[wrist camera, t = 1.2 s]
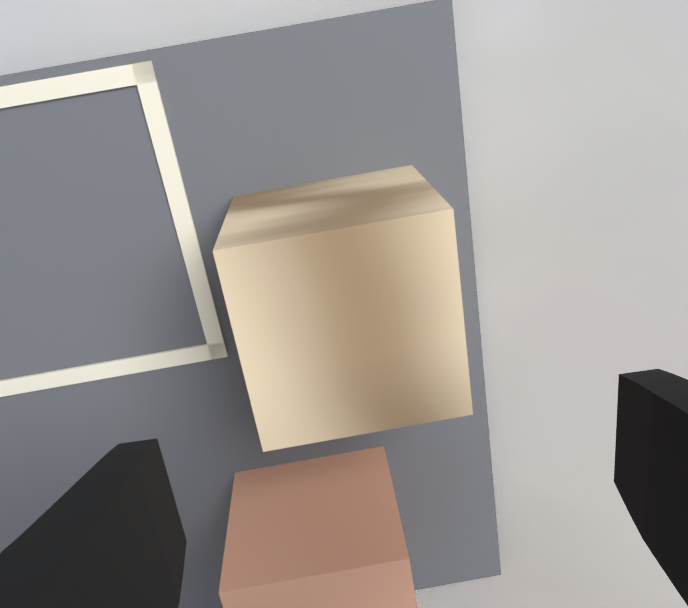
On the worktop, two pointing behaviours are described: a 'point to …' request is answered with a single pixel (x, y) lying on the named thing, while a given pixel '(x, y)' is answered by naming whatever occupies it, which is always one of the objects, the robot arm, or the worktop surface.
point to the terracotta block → (317, 536)
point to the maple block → (346, 306)
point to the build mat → (214, 267)
